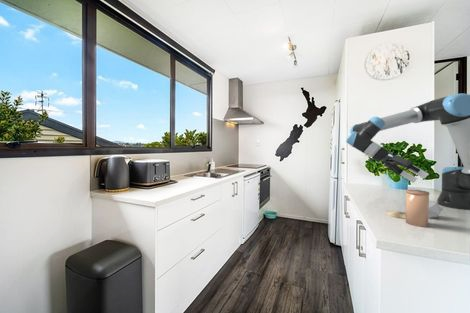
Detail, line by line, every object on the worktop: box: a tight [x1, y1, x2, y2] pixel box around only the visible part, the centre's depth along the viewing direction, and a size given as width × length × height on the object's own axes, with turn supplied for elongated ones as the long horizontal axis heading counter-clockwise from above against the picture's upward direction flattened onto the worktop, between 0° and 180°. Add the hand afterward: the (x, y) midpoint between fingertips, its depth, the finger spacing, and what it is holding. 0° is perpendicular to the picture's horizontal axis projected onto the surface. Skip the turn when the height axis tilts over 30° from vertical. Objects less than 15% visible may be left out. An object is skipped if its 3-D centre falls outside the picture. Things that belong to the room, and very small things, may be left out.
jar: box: [405, 189, 430, 228], centre depth 89 cm, size 8×8×15 cm
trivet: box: [385, 210, 406, 220], centre depth 100 cm, size 11×11×1 cm
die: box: [428, 200, 443, 219], centre depth 97 cm, size 8×9×10 cm
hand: (420, 178), depth 92 cm, fingers open, 13 cm apart
